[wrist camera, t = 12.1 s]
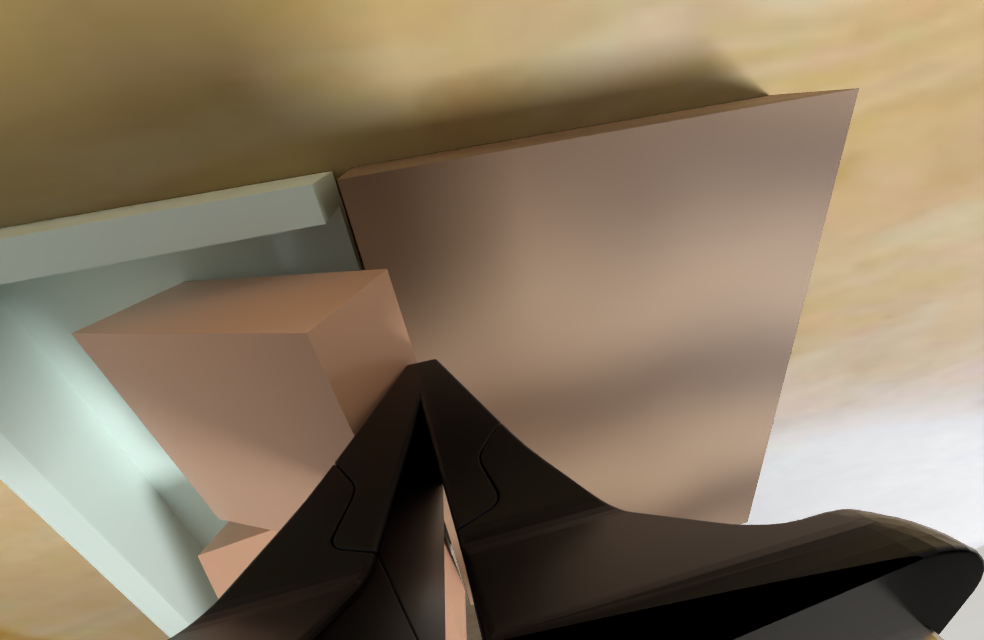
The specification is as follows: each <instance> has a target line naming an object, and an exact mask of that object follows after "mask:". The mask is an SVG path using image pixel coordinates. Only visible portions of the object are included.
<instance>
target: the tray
mask: <svg viewBox="0 0 984 640" xmlns="http://www.w3.org/2000/svg"><path fill="white" fill-rule="evenodd" d="M361 270H363V267H362V264H361V261H360V258H359V254H358V251H357V248H356V245H355V242H354V239H353V235H352V232H351V229H350V226H349V223H348V220H347V217H346V213H345V210H344V207H343V204H342V201H341V198H340V194H339V191H338V188H337V185H336V182H335V179H334V176H333V172H332V171H329V172H323V173H317V174H312V175H306V176H300V177H294V178H288V179H283V180H277V181H271V182H265V183H259V184H254V185H248V186H242V187H236V188H230V189H225V190H219V191H213V192H207V193H201V194H196V195H190V196H184V197H178V198H172V199H167V200H161V201H155V202H149V203H144V204H138V205H132V206H126V207H120V208H115V209H109V210H103V211H97V212H91V213H86V214H80V215H74V216H68V217H62V218H57V219H51V220H45V221H39V222H33V223H28V224H22V225H16V226H10V227H5V228H0V479H1V480H2V481H3V482H4V483H5V484H6V485H7V486H8V487H9V488H10V489H11V490H13V491H14V492H15V493H16V494H17V495H18V496H19V497H20V498H21V499H22V500H23V501H24V502H25V503H26V504H27V505H29V506H30V507H31V508H32V509H33V510H34V511H35V512H36V513H37V514H38V515H39V516H40V517H41V518H42V519H43V520H45V521H46V522H47V523H48V524H49V525H50V526H51V527H52V528H53V529H54V530H55V531H56V532H57V533H58V534H59V535H61V536H62V537H63V538H64V539H65V540H66V541H67V542H68V543H69V544H70V545H71V546H72V547H73V548H74V549H75V550H77V551H78V552H79V553H80V554H81V555H82V556H83V557H84V558H85V559H86V560H87V561H88V562H89V563H90V564H91V565H93V566H94V567H95V568H96V569H97V570H98V571H99V572H100V573H101V574H102V575H103V576H104V577H105V578H106V579H107V580H109V581H110V582H111V583H112V584H113V585H114V586H115V587H116V588H117V589H118V590H119V591H120V592H121V593H122V594H124V595H125V596H126V597H127V598H128V599H129V600H130V601H131V602H132V603H133V604H134V605H135V606H136V607H137V608H138V609H140V610H141V611H142V612H143V613H144V614H145V615H146V616H147V617H148V618H149V619H150V620H151V621H152V622H153V623H154V624H156V625H157V626H158V627H159V628H160V629H161V630H162V631H163V632H164V633H165V634H166V635H167V636H168V637H169V638H171V637H173V636H174V635H176V634H177V633H179V632H180V631H182V630H183V629H185V628H186V627H188V626H189V625H190V624H191V623H193V622H194V621H195V620H196V619H198V618H199V617H200V616H201V615H202V614H203V613H205V612H206V611H207V610H208V609H209V608H210V607H211V606H212V605H213V604H214V603H215V602H216V601H217V600H218V598H217V596H216V593H215V591H214V589H213V587H212V585H211V583H210V581H209V579H208V577H207V575H206V573H205V570H204V568H203V566H202V564H201V562H200V560H199V558H198V555H199V554H200V552H201V551H202V550H203V549H204V548H205V547H206V546H207V545H208V544H209V543H210V541H211V540H212V539H213V538H214V537H215V536H216V535H217V534H218V533H219V532H220V530H221V529H222V528H223V527H224V526H225V525H226V524H227V523H228V522H229V521H226V520H221V519H219V518H218V517H217V516H216V515H215V513H214V512H213V511H212V510H211V508H210V507H209V506H208V505H207V503H206V502H205V501H204V500H203V498H202V497H201V496H200V495H199V493H198V492H197V491H196V490H195V488H194V487H193V486H192V485H191V483H190V482H189V481H188V480H187V478H186V477H185V476H184V475H183V473H182V472H181V471H180V469H179V468H178V467H177V466H176V464H175V463H174V462H173V461H172V459H171V458H170V457H169V456H168V454H167V453H166V452H165V451H164V449H163V448H162V447H161V446H160V444H159V443H158V442H157V441H156V439H155V438H154V437H153V436H152V434H151V433H150V432H149V431H148V429H147V428H146V427H145V426H144V424H143V423H142V422H141V421H140V419H139V418H138V417H137V415H136V414H135V413H134V412H133V410H132V409H131V408H130V407H129V405H128V404H127V403H126V402H125V400H124V399H123V398H122V397H121V395H120V394H119V393H118V392H117V390H116V389H115V388H114V387H113V385H112V384H111V383H110V382H109V380H108V379H107V378H106V377H105V375H104V374H103V373H102V372H101V370H100V369H99V368H98V367H97V365H96V364H95V363H94V361H93V360H92V359H91V358H90V356H89V355H88V354H87V353H86V351H85V350H84V349H83V348H82V346H81V345H80V344H79V343H78V341H77V340H76V339H75V338H74V336H73V335H72V334H71V333H73V332H75V331H78V330H80V329H82V328H84V327H86V326H89V325H91V324H93V323H95V322H97V321H99V320H102V319H104V318H106V317H108V316H110V315H113V314H115V313H117V312H119V311H121V310H123V309H126V308H128V307H130V306H132V305H134V304H136V303H139V302H141V301H143V300H145V299H147V298H150V297H152V296H154V295H156V294H158V293H160V292H163V291H165V290H167V289H169V288H171V287H174V286H176V285H178V284H180V283H182V282H185V281H201V280H217V279H233V278H249V277H265V276H281V275H297V274H313V273H329V272H345V271H361ZM444 535H445V537H446V540H447V543H448V546H449V548H450V551H451V554H452V548H451V545H450V541H449V538H448V535H447V532H446V529H445V526H444Z"/></svg>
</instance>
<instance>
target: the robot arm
mask: <svg viewBox="0 0 984 640" xmlns="http://www.w3.org/2000/svg"><path fill="white" fill-rule="evenodd" d="M443 487H444V490H445V494H446V498H447V501H448V505H449V509H450V512H451V516H452V520H453V524H454V527H455V531H456V534H457V538H458V542H459V546H460V549H461V553H462V557H463V561H464V565H465V569H466V573H467V577H468V581H469V585H470V590H471V594H472V598H473V602H474V606H475V611H476V615H477V619H478V623H479V627H480V632H481V636H482V640H943V639H942V638H941V637H940V636H939V634H940V633H941V631H942V630H943V629H944V628H945V626H946V625H947V624H948V622H949V621H950V620H951V619H952V618H953V616H954V615H955V614H956V613H957V611H958V610H959V609H960V608H961V606H962V605H963V604H964V603H965V601H966V600H967V599H968V597H969V596H970V595H971V594H972V593H973V591H974V590H975V588H976V587H977V585H978V584H979V582H980V580H981V578H982V575H983V572H984V560H983V558H982V557H981V556H980V554H979V553H978V552H977V551H976V550H975V549H973V548H971V547H969V546H967V545H965V544H963V543H961V542H960V541H958V540H956V539H954V538H952V537H950V536H948V535H946V534H944V533H941V532H939V531H937V530H934V529H932V528H929V527H926V526H924V525H921V524H918V523H915V522H912V521H908V520H905V519H901V518H898V517H892V516H886V515H882V514H877V513H872V512H867V511H861V510H854V509H842V510H835V511H830V512H825V513H822V514H818V515H815V516H812V517H808V518H805V519H802V520H797V521H793V522H788V523H781V524H771V525H739V524H727V523H719V522H710V521H702V520H694V519H686V518H677V517H669V516H661V515H653V514H644V513H636V512H629V511H625V510H622V509H619V508H616V507H614V506H612V505H610V504H608V503H606V502H604V501H602V500H601V499H599V498H598V497H596V496H595V495H593V494H592V493H590V492H589V491H587V490H586V489H585V488H583V487H582V486H581V485H579V484H578V483H576V482H575V481H574V480H572V479H571V478H569V477H568V476H567V475H565V474H564V473H562V472H561V471H560V470H558V469H557V468H555V467H554V466H553V465H551V464H550V463H548V462H547V461H546V460H544V459H543V458H542V457H540V456H539V455H538V454H536V453H535V452H534V451H532V450H531V449H530V448H529V447H527V446H526V445H525V444H524V443H523V442H522V441H521V440H519V439H518V438H517V437H516V436H515V435H514V434H513V433H512V432H511V431H510V430H509V429H508V428H507V427H506V426H505V425H504V424H502V423H501V422H500V421H499V420H498V419H497V418H496V417H495V416H494V415H493V414H492V413H491V412H490V411H489V410H488V409H487V408H486V407H485V406H484V405H483V404H482V403H481V402H480V401H479V400H478V399H477V398H476V397H475V396H474V395H473V394H472V393H471V392H470V391H469V390H468V389H467V388H465V387H464V386H463V385H462V384H461V383H460V382H459V381H458V380H457V379H456V378H455V377H454V376H453V375H452V374H451V373H450V372H449V371H448V370H447V369H446V368H445V367H444V366H443V365H442V364H441V363H440V362H439V361H438V360H437V359H432V360H427V361H423V362H418V363H414V364H409V365H407V366H406V367H405V369H404V370H403V371H402V373H401V374H400V375H399V377H398V378H397V379H396V381H395V382H394V383H393V385H392V386H391V387H390V389H389V390H388V391H387V393H386V394H385V395H384V397H383V398H382V400H381V401H380V402H379V404H378V405H377V406H376V408H375V409H374V410H373V412H372V413H371V414H370V416H369V417H368V418H367V420H366V421H365V422H364V424H363V425H362V426H361V428H360V429H359V430H358V432H357V433H356V435H355V436H354V437H353V439H352V440H351V441H350V443H349V444H348V445H347V447H346V448H345V449H344V451H343V452H342V453H341V455H340V456H339V457H338V459H337V460H336V461H335V465H332V467H331V468H330V469H329V471H328V472H327V473H326V475H325V476H324V477H323V479H322V480H321V481H320V483H319V484H318V485H317V486H316V488H315V489H314V490H313V491H312V493H311V494H310V495H309V497H308V498H307V499H306V500H305V502H304V503H303V504H302V505H301V506H300V507H299V509H298V510H297V511H296V512H295V513H294V514H293V516H292V517H291V518H290V519H289V520H288V521H287V523H286V524H285V525H284V526H283V527H282V528H281V530H280V531H279V532H278V533H277V534H276V535H275V536H274V537H273V539H272V540H271V541H270V542H269V543H268V544H267V545H266V546H265V548H264V549H263V550H262V551H261V552H260V553H259V554H258V555H257V557H256V558H255V559H254V560H253V561H252V562H251V563H250V564H249V565H248V567H247V568H246V569H245V570H244V571H243V572H242V573H241V574H240V576H239V577H238V578H237V579H236V580H235V581H234V582H233V583H232V585H231V586H230V587H229V588H228V589H227V590H226V591H225V592H224V594H223V595H222V596H221V597H220V598H219V599H218V600H217V601H216V602H215V603H214V604H213V605H212V606H211V607H210V608H209V609H208V610H207V611H206V612H205V613H203V614H202V615H201V616H200V617H199V618H198V619H196V620H195V621H194V622H193V623H191V624H190V625H189V626H188V627H186V628H185V629H183V630H182V631H180V632H179V633H177V634H176V635H174V636H173V637H171V638H170V639H168V640H446V633H445V567H444V502H443Z"/></svg>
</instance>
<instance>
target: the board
mask: <svg viewBox="0 0 984 640" xmlns="http://www.w3.org/2000/svg"><path fill="white" fill-rule="evenodd" d="M858 90H859V88H857V89H844V90H831V91H818V92H806V93H793V94H780V95H769V96H763V97H758V98H752V99H746V100H740V101H734V102H729V103H723V104H717V105H711V106H705V107H700V108H694V109H688V110H682V111H676V112H671V113H665V114H659V115H653V116H647V117H642V118H636V119H630V120H624V121H619V122H613V123H607V124H601V125H595V126H590V127H584V128H578V129H572V130H566V131H561V132H555V133H549V134H543V135H537V136H532V137H526V138H520V139H514V140H508V141H503V142H497V143H491V144H485V145H479V146H474V147H468V148H462V149H456V150H451V151H445V152H439V153H433V154H427V155H422V156H416V157H410V158H404V159H398V160H393V161H387V162H381V163H375V164H369V165H364V166H358V167H352V168H351V169H350V170H348V171H347V172H346V173H345V174H344V175H342V176H341V177H340V178H339V179H337V181H338V184H339V187H340V191H341V194H342V197H343V200H344V203H345V207H346V210H347V213H348V216H349V219H350V222H351V226H352V229H353V232H354V235H355V238H356V242H357V245H358V248H359V251H360V254H361V257H362V261H363V264H364V267H365V270H377V269H387V270H388V273H389V277H390V280H391V283H392V286H393V289H394V292H395V295H396V298H397V302H398V305H399V308H400V311H401V314H402V317H403V320H404V323H405V326H406V330H407V333H408V336H409V339H410V342H411V345H412V348H413V351H414V355H415V358H416V361H417V363H418V362H423V361H427V360H432V359H437V360H438V361H439V362H440V363H441V364H442V365H443V366H444V367H445V368H446V369H447V370H448V371H449V372H450V373H451V374H452V375H453V376H454V377H455V378H456V379H457V380H458V381H459V382H460V383H461V384H462V385H463V386H464V387H465V388H467V389H468V390H469V391H470V392H471V393H472V394H473V395H474V396H475V397H476V398H477V399H478V400H479V401H480V402H481V403H482V404H483V405H484V406H485V407H486V408H487V409H488V410H489V411H490V412H491V413H492V414H493V415H494V416H495V417H496V418H497V419H498V420H499V421H500V422H501V423H502V424H504V425H505V426H506V427H507V428H508V429H509V430H510V431H511V432H512V433H513V434H514V435H515V436H516V437H517V438H518V439H519V440H521V441H522V442H523V443H524V444H525V445H526V446H527V447H529V448H530V449H531V450H532V451H534V452H535V453H536V454H538V455H539V456H540V457H542V458H543V459H544V460H546V461H547V462H548V463H550V464H551V465H553V466H554V467H555V468H557V469H558V470H560V471H561V472H562V473H564V474H565V475H567V476H568V477H569V478H571V479H572V480H574V481H575V482H576V483H578V484H579V485H581V486H582V487H583V488H585V489H586V490H587V491H589V492H590V493H592V494H593V495H595V496H596V497H598V498H599V499H601V500H602V501H604V502H606V503H608V504H610V505H612V506H614V507H616V508H619V509H622V510H625V511H629V512H636V513H644V514H653V515H661V516H669V517H677V518H686V519H694V520H702V521H710V522H719V523H727V524H742V523H746V522H748V518H749V514H750V510H751V506H752V502H753V498H754V494H755V490H756V487H757V483H758V479H759V475H760V471H761V467H762V463H763V459H764V455H765V452H766V448H767V444H768V440H769V436H770V432H771V428H772V424H773V420H774V417H775V413H776V409H777V405H778V401H779V397H780V393H781V389H782V385H783V382H784V378H785V374H786V370H787V366H788V362H789V358H790V354H791V350H792V347H793V343H794V339H795V335H796V331H797V327H798V323H799V319H800V315H801V312H802V308H803V304H804V300H805V296H806V292H807V288H808V284H809V280H810V277H811V273H812V269H813V265H814V261H815V257H816V253H817V249H818V245H819V241H820V238H821V234H822V230H823V226H824V222H825V218H826V214H827V210H828V206H829V203H830V199H831V195H832V191H833V187H834V183H835V179H836V175H837V171H838V168H839V164H840V160H841V156H842V152H843V148H844V144H845V140H846V136H847V133H848V129H849V125H850V121H851V117H852V113H853V109H854V105H855V101H856V98H857V94H858ZM443 502H444V521H445V524H446V528H447V531H448V534H449V537H450V540H451V544H452V547H453V550H454V553H455V556H456V559H457V563H458V566H459V569H460V572H461V575H462V579H463V582H464V585H465V588H466V591H467V594H468V598H469V601H470V604H471V605H473V604H474V602H473V598H472V594H471V590H470V585H469V581H468V577H467V573H466V569H465V565H464V561H463V557H462V553H461V549H460V546H459V542H458V538H457V534H456V531H455V527H454V524H453V520H452V516H451V512H450V509H449V505H448V501H447V498H446V494H445V490H444V487H443Z"/></svg>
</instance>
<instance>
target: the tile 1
mask: <svg viewBox="0 0 984 640" xmlns="http://www.w3.org/2000/svg"><path fill="white" fill-rule="evenodd" d="M71 334H72V335H73V336H74V338H75V339H76V340H77V341H78V343H79V344H80V345H81V346H82V348H83V349H84V350H85V351H86V353H87V354H88V355H89V356H90V358H91V359H92V360H93V361H94V363H95V364H96V365H97V367H98V368H99V369H100V370H101V372H102V373H103V374H104V375H105V377H106V378H107V379H108V380H109V382H110V383H111V384H112V385H113V387H114V388H115V389H116V390H117V392H118V393H119V394H120V395H121V397H122V398H123V399H124V400H125V402H126V403H127V404H128V405H129V407H130V408H131V409H132V410H133V412H134V413H135V414H136V415H137V417H138V418H139V419H140V421H141V422H142V423H143V424H144V426H145V427H146V428H147V429H148V431H149V432H150V433H151V434H152V436H153V437H154V438H155V439H156V441H157V442H158V443H159V444H160V446H161V447H162V448H163V449H164V451H165V452H166V453H167V454H168V456H169V457H170V458H171V459H172V461H173V462H174V463H175V464H176V466H177V467H178V468H179V469H180V471H181V472H182V473H183V475H184V476H185V477H186V478H187V480H188V481H189V482H190V483H191V485H192V486H193V487H194V488H195V490H196V491H197V492H198V493H199V495H200V496H201V497H202V498H203V500H204V501H205V502H206V503H207V505H208V506H209V507H210V508H211V510H212V511H213V512H214V513H215V515H216V516H217V517H218V518H219V519H221V520H226V521H230V522H235V523H240V524H245V525H250V526H254V527H259V528H264V529H269V530H273V531H278V532H279V531H280V530H281V528H282V527H283V526H284V525H285V524H286V523H287V521H288V520H289V519H290V518H291V517H292V516H293V514H294V513H295V512H296V511H297V510H298V509H299V507H300V506H301V505H302V504H303V503H304V502H305V500H306V499H307V498H308V497H309V495H310V494H311V493H312V491H313V490H314V489H315V488H316V486H317V485H318V484H319V483H320V481H321V480H322V479H323V477H324V476H325V475H326V473H327V472H328V471H329V469H330V468H331V467H332V465H335V461H336V460H337V459H338V457H339V456H340V455H341V453H342V452H343V451H344V449H345V448H346V447H347V445H348V444H349V443H350V441H351V440H352V439H353V437H354V436H355V435H356V433H357V432H358V430H359V429H360V428H361V426H362V425H363V424H364V422H365V421H366V420H367V418H368V417H369V416H370V414H371V413H372V412H373V410H374V409H375V408H376V406H377V405H378V404H379V402H380V401H381V400H382V398H383V397H384V395H385V394H386V393H387V391H388V390H389V389H390V387H391V386H392V385H393V383H394V382H395V381H396V379H397V378H398V377H399V375H400V374H401V373H402V371H403V370H404V369H405V367H406V366H407V365H409V364H414V363H417V361H416V358H415V355H414V351H413V348H412V345H411V342H410V339H409V336H408V333H407V330H406V326H405V323H404V320H403V317H402V314H401V311H400V308H399V305H398V302H397V298H396V295H395V292H394V289H393V286H392V283H391V280H390V277H389V273H388V270H387V269H377V270H361V271H345V272H329V273H313V274H297V275H281V276H265V277H249V278H233V279H217V280H201V281H185V282H182V283H180V284H178V285H176V286H174V287H171V288H169V289H167V290H165V291H163V292H160V293H158V294H156V295H154V296H152V297H150V298H147V299H145V300H143V301H141V302H139V303H136V304H134V305H132V306H130V307H128V308H126V309H123V310H121V311H119V312H117V313H115V314H113V315H110V316H108V317H106V318H104V319H102V320H99V321H97V322H95V323H93V324H91V325H89V326H86V327H84V328H82V329H80V330H78V331H75V332H73V333H71Z"/></svg>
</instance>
